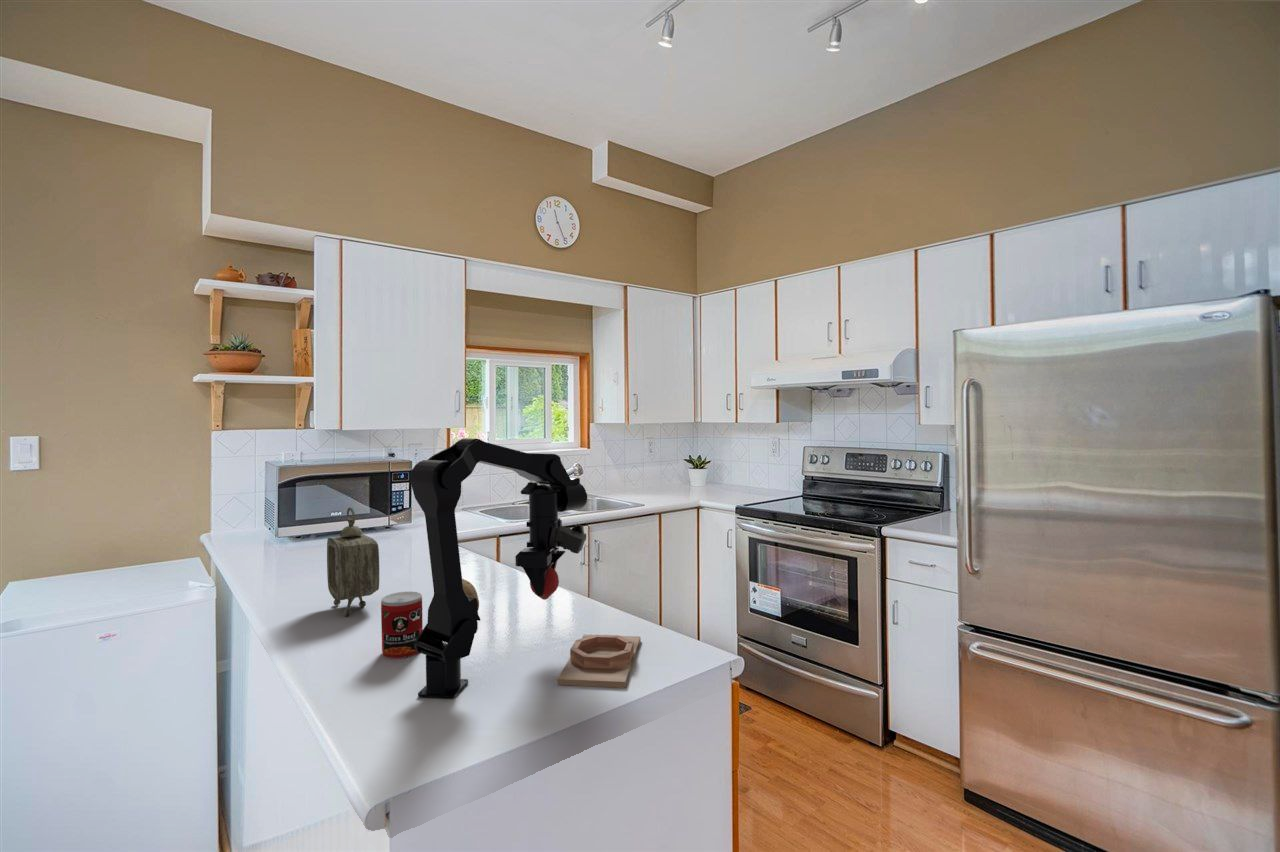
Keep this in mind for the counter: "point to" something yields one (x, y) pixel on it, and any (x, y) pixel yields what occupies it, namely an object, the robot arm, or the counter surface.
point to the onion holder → (600, 661)
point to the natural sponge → (470, 590)
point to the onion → (549, 583)
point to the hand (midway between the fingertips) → (544, 591)
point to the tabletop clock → (352, 565)
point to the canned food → (401, 623)
